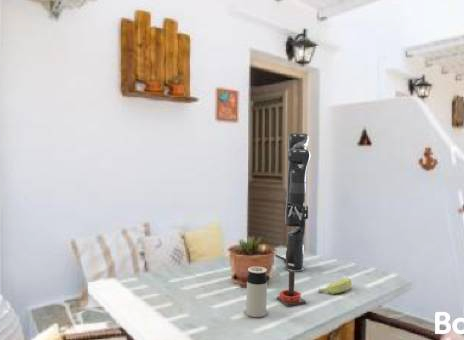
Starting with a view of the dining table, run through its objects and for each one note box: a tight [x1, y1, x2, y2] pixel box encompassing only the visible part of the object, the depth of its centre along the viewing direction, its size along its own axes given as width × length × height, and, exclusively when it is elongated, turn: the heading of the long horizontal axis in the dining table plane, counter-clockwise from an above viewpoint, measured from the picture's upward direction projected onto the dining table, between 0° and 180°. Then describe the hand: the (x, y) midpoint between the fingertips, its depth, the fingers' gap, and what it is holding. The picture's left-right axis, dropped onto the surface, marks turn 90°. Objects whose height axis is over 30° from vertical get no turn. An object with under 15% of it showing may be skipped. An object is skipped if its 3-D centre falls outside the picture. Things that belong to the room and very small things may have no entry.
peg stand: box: [276, 270, 307, 308], centre depth 168 cm, size 9×9×13 cm
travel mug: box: [245, 266, 268, 318], centre depth 154 cm, size 8×8×18 cm
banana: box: [318, 276, 353, 295], centre depth 185 cm, size 14×6×20 cm
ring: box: [278, 289, 302, 302], centre depth 169 cm, size 9×9×2 cm
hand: (296, 226), depth 182 cm, fingers open, 8 cm apart
